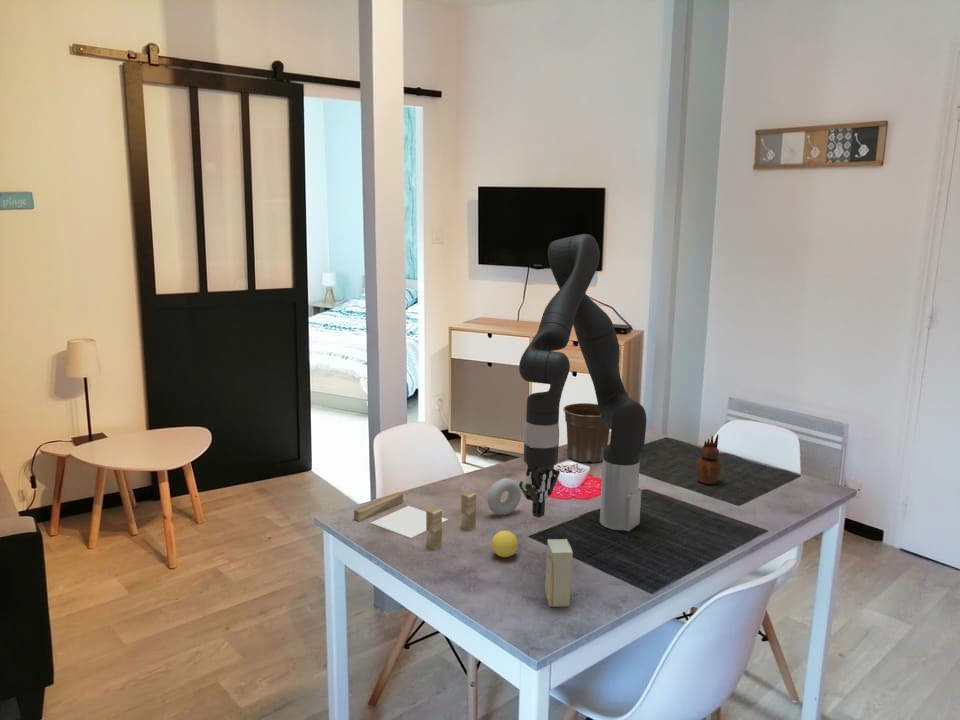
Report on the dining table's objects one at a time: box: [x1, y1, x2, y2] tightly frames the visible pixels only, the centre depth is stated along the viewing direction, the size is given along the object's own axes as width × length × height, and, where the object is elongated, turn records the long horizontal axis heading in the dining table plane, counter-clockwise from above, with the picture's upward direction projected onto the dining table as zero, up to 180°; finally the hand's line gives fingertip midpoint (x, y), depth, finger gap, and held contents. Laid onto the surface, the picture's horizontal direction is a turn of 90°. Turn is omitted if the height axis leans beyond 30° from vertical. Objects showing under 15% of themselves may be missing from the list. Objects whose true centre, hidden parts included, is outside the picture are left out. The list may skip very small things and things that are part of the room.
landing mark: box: [370, 505, 449, 539], centre depth 192 cm, size 14×14×1 cm
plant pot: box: [563, 402, 611, 464], centre depth 241 cm, size 16×16×16 cm
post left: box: [425, 507, 443, 550], centre depth 178 cm, size 3×3×9 cm
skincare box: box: [544, 538, 574, 608], centre depth 154 cm, size 6×4×12 cm
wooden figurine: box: [695, 434, 722, 485], centre depth 220 cm, size 7×6×15 cm
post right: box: [460, 491, 477, 532], centre depth 188 cm, size 3×3×9 cm
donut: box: [486, 477, 522, 516], centre depth 196 cm, size 10×4×10 cm, turn 122°
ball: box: [491, 530, 519, 558], centre depth 173 cm, size 6×6×6 cm
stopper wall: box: [353, 492, 404, 523], centre depth 198 cm, size 2×16×2 cm, turn 142°
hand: (538, 515), depth 166 cm, fingers closed
